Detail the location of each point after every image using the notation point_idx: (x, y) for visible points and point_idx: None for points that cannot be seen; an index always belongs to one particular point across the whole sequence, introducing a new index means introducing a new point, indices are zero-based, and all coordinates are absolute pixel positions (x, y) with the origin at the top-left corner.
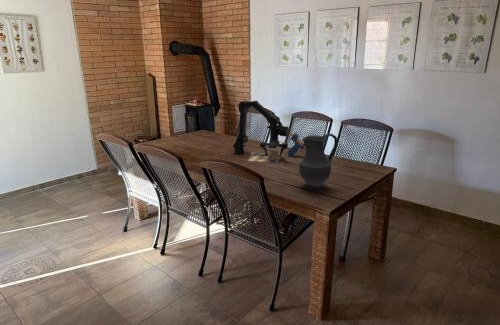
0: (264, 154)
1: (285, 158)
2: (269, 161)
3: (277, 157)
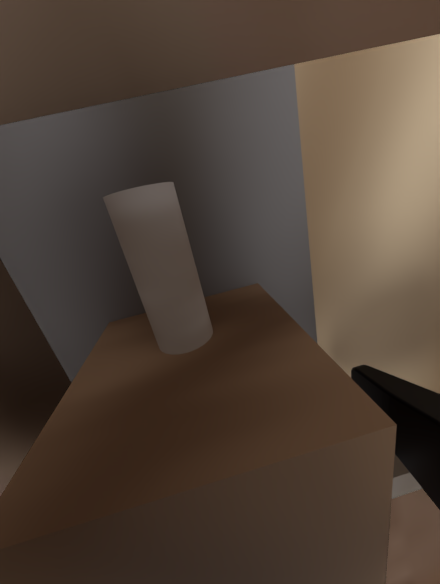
0: None
1: None
2: (215, 138)
3: None
